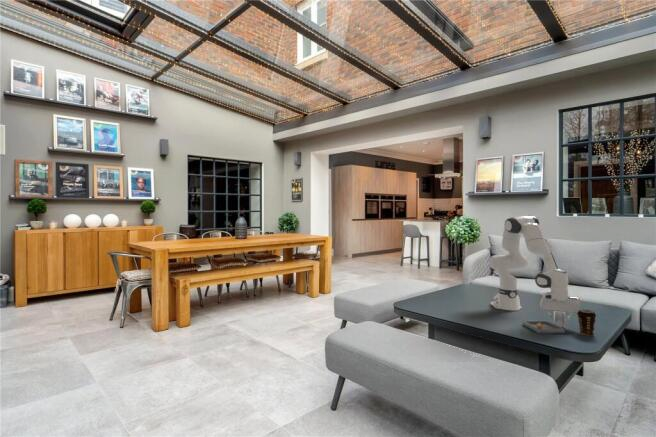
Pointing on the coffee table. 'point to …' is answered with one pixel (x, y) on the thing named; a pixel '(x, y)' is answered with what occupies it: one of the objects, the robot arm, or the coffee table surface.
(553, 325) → the tray
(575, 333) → the coffee table surface
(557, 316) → the shaker
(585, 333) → the coffee cup
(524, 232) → the robot arm
